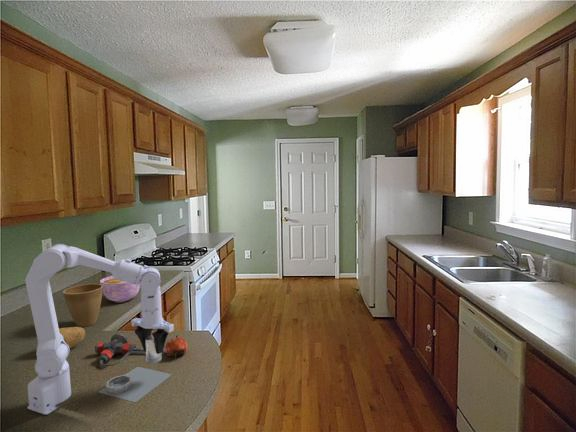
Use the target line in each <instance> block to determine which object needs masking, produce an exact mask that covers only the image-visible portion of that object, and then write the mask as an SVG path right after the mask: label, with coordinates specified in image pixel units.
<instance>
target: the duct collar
mask: <svg viewBox="0 0 576 432" xmlns="http://www.w3.org/2000/svg"><path fill="white" fill-rule="evenodd" d="M124 381H125V382H128V383H126V384H125V385H123V386H118V387H111V386H112V385H114V384H115V383H119V382H124ZM105 387H106V392H107V393H109V394H113V395H114V394H119V393H123V392H126V391H127V390H128V389H130V388H131V387H132V376H128V375H125V374H122V375H117V376H113V377H112V378H110V379H109V380H107V381H106V384H105Z"/></svg>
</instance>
